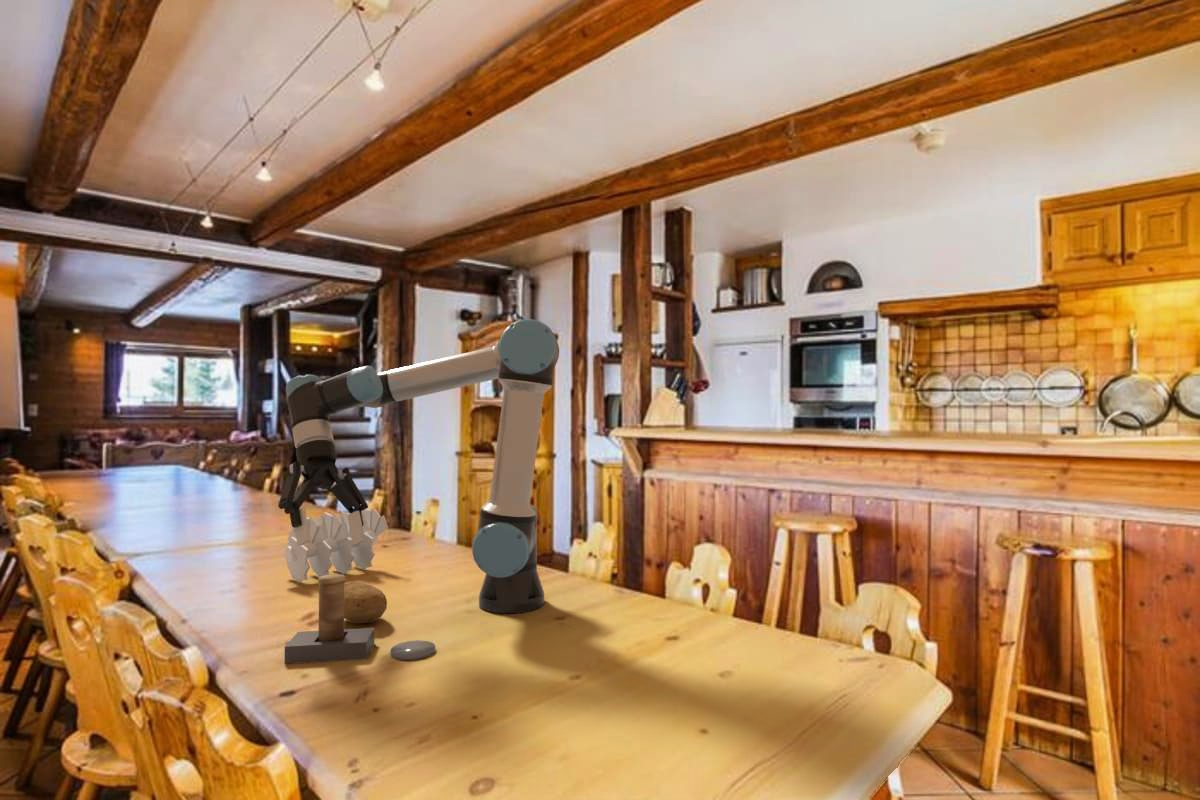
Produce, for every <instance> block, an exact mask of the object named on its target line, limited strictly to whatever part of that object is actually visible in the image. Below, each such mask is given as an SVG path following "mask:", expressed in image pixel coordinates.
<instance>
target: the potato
mask: <svg viewBox="0 0 1200 800" xmlns="http://www.w3.org/2000/svg"><path fill="white" fill-rule="evenodd" d="M387 606H388V599H387V597H386V594H384V592H383V591H381V589H380V588H377V587H376V586H373V585H371V584H368V583H365V582H361V581H357V580H352V581H347V582H344V620H347V621H348V622H350V623H352V624H365V623H367V624H372V623H373V622H375V621H376V620H378V619H380V618H382V616H383V615H384V613H385V611H386V610H387Z"/></svg>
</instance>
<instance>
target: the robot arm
mask: <svg viewBox="0 0 1200 800" xmlns="http://www.w3.org/2000/svg"><path fill="white" fill-rule="evenodd" d="M559 357H560V347H559V343H558V340H557V338H556V336H555V334H554V331H553V330H552V329H551V328H550V326H548V325H547V324H545V323H543V322H541V321H539V320H536V319H530V318H525V319H523V318H522V319H519V320H517V321H515V322H513V323H511V324H510V325H508V326H507V327H506V328H505V330H504V331H503V332H502V333H501V336H500V339H499V340H496V342H495V344H494V346H490V347H485V348H481V349H476V350H473V351H468V352H464V353H460V354H456V355H455V354H454V355H450V356H447V357H442V358H438V359H434V360H430V361H429V360H428V361H424V362H420V363H415V364H412V365H409V366H408V365H407V366H403V367H399V368H394V369H390V370H386V371H380V372H377V371H376V370H375V369H374V368H373V366H370V365H365V366H361V367H358V368H356V367H355V368H352V369H351V370H349V371H347V372H346V371H345V372H344V373H343V372H342V373H341V374H338V375H335V376H332V377H330V378H327V379H323V380H322V378H320V377H319V376H318V375H315V374H305V375H297V376H295V377H292V378H291V379H290V380H289V381H288V382H287V383H286V385H285V393H286V404H287V408H288V412H289V417H290V423H291V431H292V436H293V442H294V447H295V455H296V459H297V460H296V461H294V462H293V463H292V464H290V465H288V466H287V467H286V474H287V477H286V479H285V482H284V485H283V489H282V491H281V495H280V498H279V501H278V508H279V509H280V510H283V509H284V513H285V515H289V518H290V524H291V528H295V534H296V540H297V546H301V545H303V544H305V543H307V542H309V541H311V540H310V534H309V528H308V522H307V518H308V517H307V512H306V508H304V507H302V505H303V504H304V502H305V500H306V499H307V497H308V495H309V494H310V493H311V491H312V489H321V490H327V491H328V492H329V493H332V494H333V495H334V497H335V498H336V499H337V501H339V502H340V504H341V505H342V506H343V507H344V508H345V510H346V511H347V513H350V514H349V515H347V516H348V521H349V527H350V532H351V537H352V542H353V545H357V544H359V543H361V542H363V541H365V537H364V532H363V525H364V524H363V519H362V514H361V512H362V513H363V510H365V509H368V508H369V504H368V503H367V502H366V499H365V498H364V496H363V494H362V493H361V492H360V490H359V488H358V486H357V484H356V483H355V481H354V480H353V478H352V476H351V471H350V469H349V467H346V466H345V467H344V468H343V469H339V468H337V466H336V462H337V459H338V456H337V451H336V445H335V443H334V435H333V430H332V425H331V421H330V416H331V415H334V414H335V415H336V414H338V413H340V412H343V411H346V410H349V409H353V408H371V409H375V408H382V407H385V406H386V405H389V404H392V403H396V402H401V401H404V400H405V401H406V400H410V399H414V398H417V397H422V396H427V395H431V394H432V395H433V394H436V393H440V392H445V391H449V390H453V389H458V388H463V387H467V386H472V385H475V384H480V383H485V382H489V381H493V380H497V381H498V382H499V383H500V385H501V386H502V388H503V394H502V403H501V408H500V409H501V410H500V417H499V423H498V432H497V440H496V447H495V453H494V454H495V456H494V463H493V468H492V469H493V470H492V471H493V472H492V478H491V483H490V484H491V485H490V492H489V499H488V501H487V502H485V503H484V504H483V505H482V506H481V508H480V513H479V519H478V520H479V521H478V527H477V532H476V534H475V536H474V539H473V542H472V548H471V552H472V558H473V560H474V562H475V564H476V565H477V567H478V568H479V569H480V570H481V571H482V572H483V573H485V577H484V578H483V583H482V586H481V589H480V592H479V596H478V607H479V609H482V610H483V611H486V612H489V613H490V612H491V613H498V614H517V613H525V612H530V611H535V610H537V609H540V608H541V607H543V606H544V604H545V591H544V588H543V586H542V583H541V582H542V581H541V579H540V576H539V572H538V566H537V565H538V562H537V561H538V554H537V553H538V549H537V548H538V546H537V545H538V543H537V542H538V532H537V530H538V525H537V523H538V512H537V508H536V506H534V505H531V504H530V502H531V495H532V489H533V480H534V474H535V472H534V471H535V464H536V458H537V457H536V455H537V450H538V442H539V441H538V440H539V436H540V435H539V433H540V427H541V426H540V425H541V418H542V414H543V413H542V411H543V404H544V395H545V394H546V393H547V392H548V391H549V390H551V388H553V382H554V375H555V367H556V365H557V363H558V360H559ZM301 476H302V477H303V481H302V482H301V483H300V485H299V482H300V478H301ZM298 485H299V486H300V487H299V489H298V488H297V487H298ZM297 489H298V490H297Z"/></svg>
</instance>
